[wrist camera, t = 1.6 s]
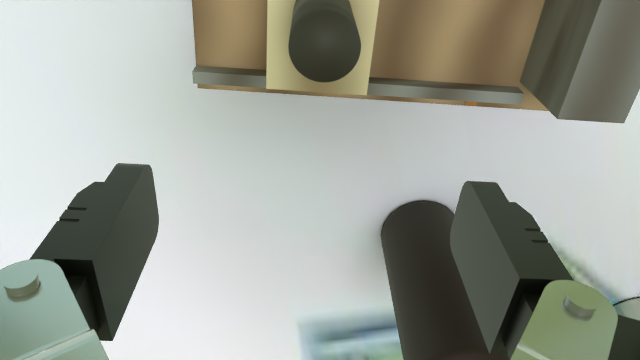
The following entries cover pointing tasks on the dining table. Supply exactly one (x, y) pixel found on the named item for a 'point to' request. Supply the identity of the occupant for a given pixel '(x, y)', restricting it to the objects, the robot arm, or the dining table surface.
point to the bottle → (429, 287)
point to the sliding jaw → (320, 45)
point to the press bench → (458, 53)
